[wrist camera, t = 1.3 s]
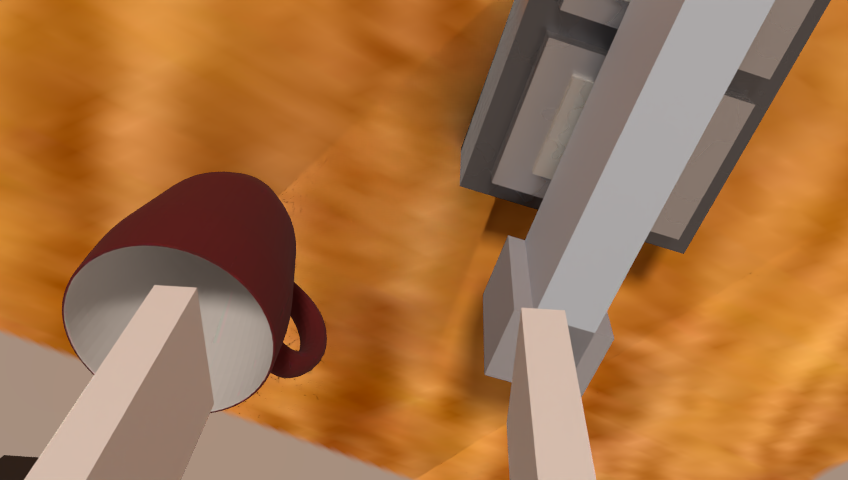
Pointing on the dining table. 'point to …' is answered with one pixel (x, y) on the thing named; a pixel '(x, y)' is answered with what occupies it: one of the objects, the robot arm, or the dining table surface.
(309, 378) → the dining table surface
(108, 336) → the mug
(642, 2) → the light grey bar
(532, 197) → the grey stepped machine part
